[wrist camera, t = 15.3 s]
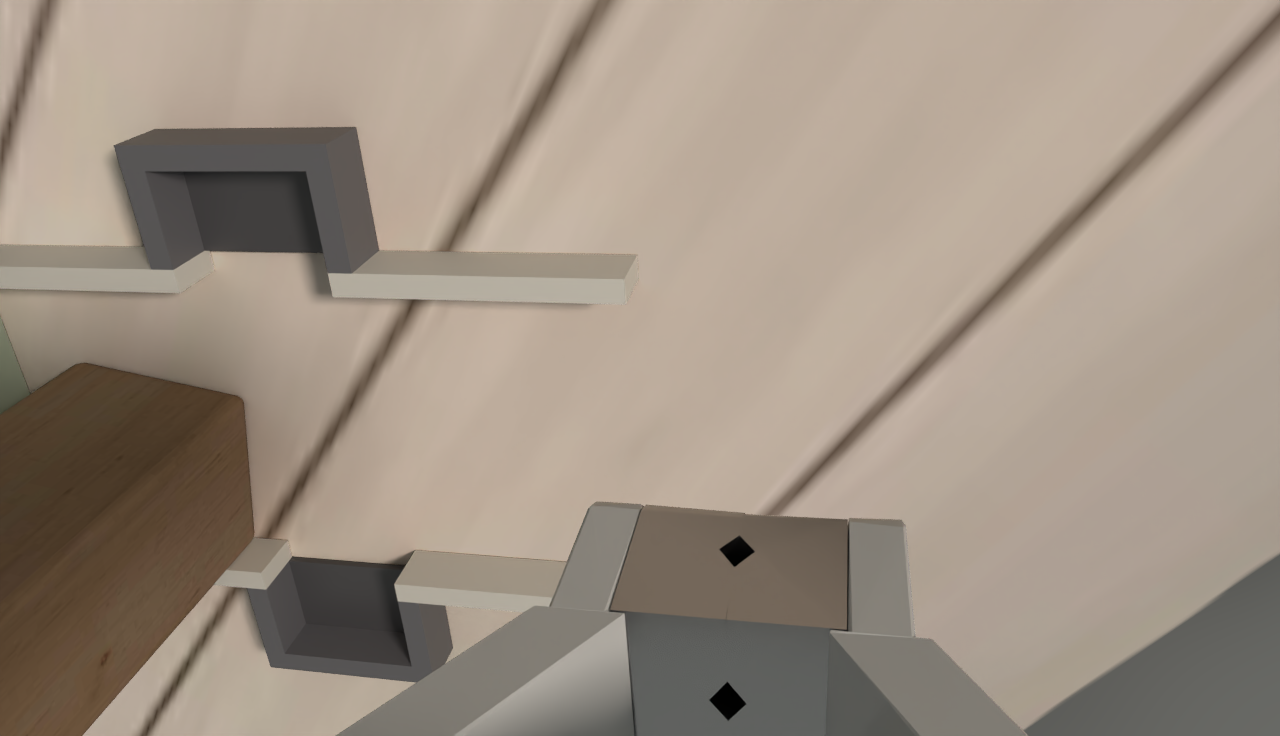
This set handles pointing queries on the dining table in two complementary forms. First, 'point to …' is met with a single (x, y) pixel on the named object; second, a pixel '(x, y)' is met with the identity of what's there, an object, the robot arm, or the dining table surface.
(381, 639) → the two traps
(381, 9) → the dining table surface
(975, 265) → the dining table surface
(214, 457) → the wooden block
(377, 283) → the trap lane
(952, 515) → the dining table surface
